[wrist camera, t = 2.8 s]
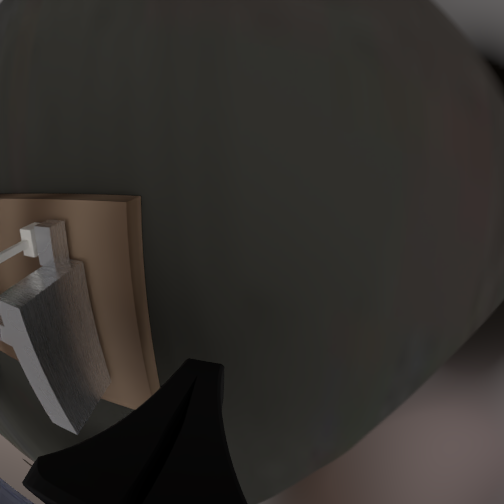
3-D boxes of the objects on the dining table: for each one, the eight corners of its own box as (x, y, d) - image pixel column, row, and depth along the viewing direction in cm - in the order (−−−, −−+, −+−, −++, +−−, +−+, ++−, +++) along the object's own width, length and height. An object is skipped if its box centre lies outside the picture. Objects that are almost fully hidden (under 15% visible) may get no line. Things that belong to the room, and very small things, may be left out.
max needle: (45, 223, 10) (-34, 263, 6) (48, 249, 11) (-25, 295, 6) (34, 222, 10) (-42, 260, 6) (37, 247, 11) (-33, 291, 6)
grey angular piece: (78, 221, 10) (6, 259, 6) (111, 381, 13) (77, 434, 9) (-29, 213, 11) (-77, 235, 7) (3, 336, 14) (-30, 367, 10)
